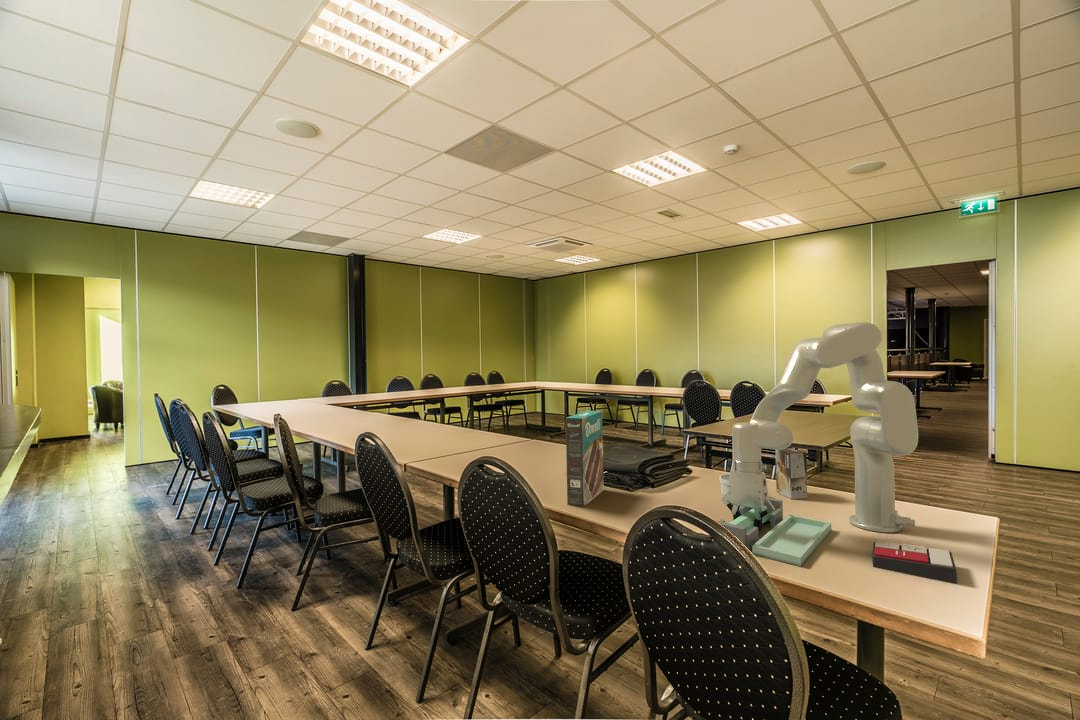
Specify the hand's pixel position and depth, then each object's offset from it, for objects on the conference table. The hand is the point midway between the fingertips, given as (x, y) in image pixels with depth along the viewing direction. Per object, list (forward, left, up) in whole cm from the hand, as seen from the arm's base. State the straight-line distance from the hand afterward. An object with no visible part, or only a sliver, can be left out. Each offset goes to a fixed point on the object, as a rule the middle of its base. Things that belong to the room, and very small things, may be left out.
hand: (747, 529), depth 136 cm
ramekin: (+14, -31, -1) cm, 34 cm away
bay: (0, 0, -1) cm, 1 cm away
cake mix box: (+56, +3, -1) cm, 56 cm away
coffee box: (+1, -45, -1) cm, 45 cm away
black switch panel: (-37, -2, -1) cm, 37 cm away
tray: (-12, 0, 0) cm, 12 cm away
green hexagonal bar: (0, 0, -1) cm, 1 cm away
